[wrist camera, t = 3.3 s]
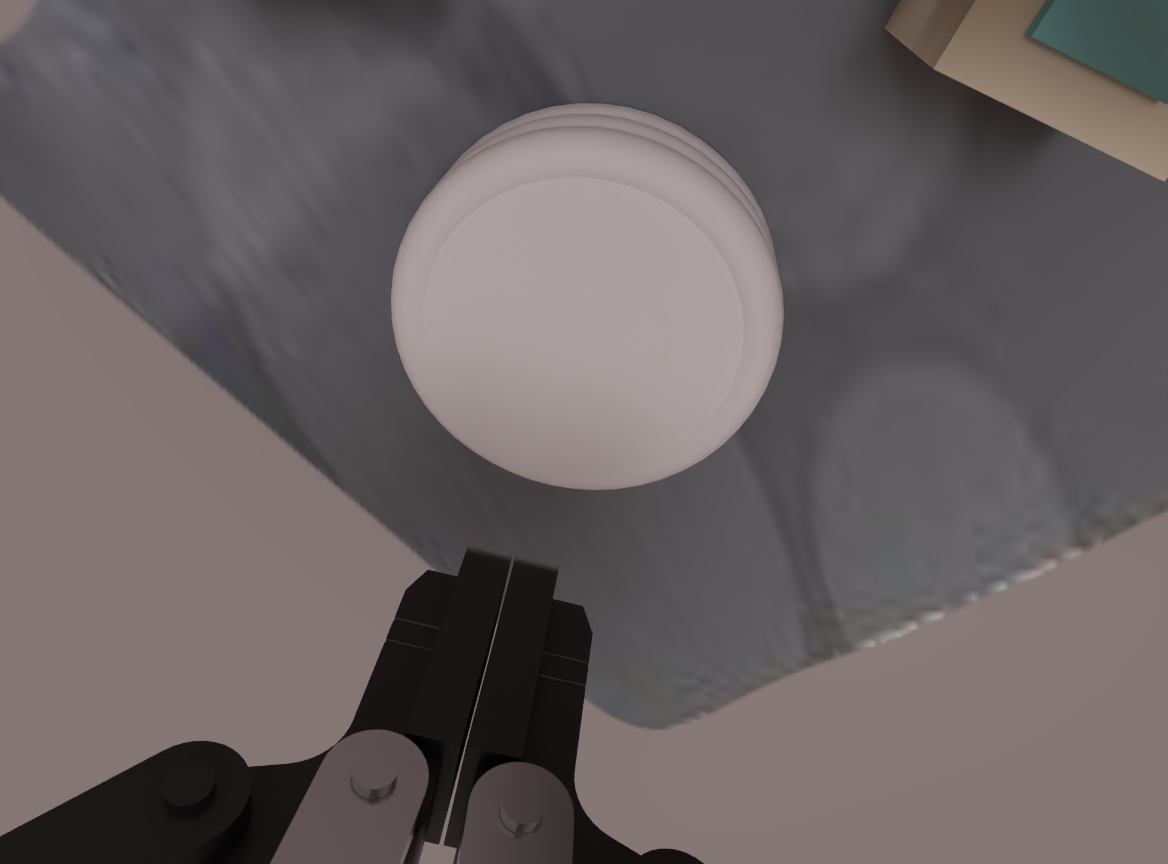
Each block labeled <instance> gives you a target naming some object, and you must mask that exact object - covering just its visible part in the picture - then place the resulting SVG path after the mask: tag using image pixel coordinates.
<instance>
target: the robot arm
mask: <svg viewBox="0 0 1168 864" xmlns="http://www.w3.org/2000/svg"><path fill="white" fill-rule="evenodd" d="M511 557H512V556H510V555H506V554H502V553H498V552H494V551H489V550H485V549H481V548H477V547H473V546H468V548H467V550H466V553H465V556H464V559H463V562H462V565H461V568H460V571H459V574H458V577H457V576H452V575H448V574H444V573H440V572H436V571H431V570H427V571H426V572H425V573H424V574H423V575H422V576H421V577H419V578H418V579H417V580H416V581H415V582H414V583H413V584H412V585H411V586H409V587H408V588H407V589H406V591H405V593H404V596H403V598H402V601H401V603H400V606H399V608H398V611H397V613H396V616H395V619H394V621H393V623H392V625H391V628H390V630H389V633H388V635H387V639H386V642H385V643H384V645H383V648H382V650H381V653H380V655H379V658H378V660H377V663H376V665H375V667H374V670H373V672H372V675H371V677H370V680H369V682H368V685H367V687H366V690H365V692H364V695H363V697H362V700H361V702H360V705H359V707H358V710H357V712H356V715H355V717H354V720H353V722H352V724H351V726H350V728H349V729H348V731H347V732H346V734H345V735H344V736H343V737H342V738H341V739H340V740H339V741H338V742H337V743H336V744H335V745H334V746H332V747H331V748H330V749H329V750H327V751H325V752H323V753H322V754H320V755H318V756H316V757H313V758H311V759H308V760H304V761H301V762H296V763H289V764H280V765H279V764H278V765H266V766H254V767H248V766H247V764H246V762H245V760H244V759H243V758H242V757H241V756H240V755H239V754H238V753H237V752H236V751H234V750H233V749H231V748H230V747H227V746H226V745H223V744H219V743H216V742H210V741H192V742H187V743H182V744H179V745H175V746H172V747H171V748H168V749H166V750H164V751H162V752H160V753H158V754H156V755H154V756H152V757H150V758H148V759H146V760H145V761H143V762H141V763H139V764H137V765H135V766H133V767H131V768H129V769H127V770H126V771H124V772H122V773H120V774H118V775H116V776H114V777H112V778H110V779H108V780H107V781H105V782H103V783H101V784H99V785H97V786H95V787H93V788H91V789H90V790H88V791H86V792H84V793H82V794H80V795H78V796H76V797H74V798H72V799H70V800H69V801H67V802H65V803H63V804H61V805H59V806H57V807H55V808H54V809H52V810H50V811H48V812H46V813H44V814H42V815H40V816H38V817H36V818H34V819H33V820H31V821H29V822H27V823H25V824H23V825H21V826H19V827H18V828H15V829H14V830H12V831H10V832H8V833H6V834H4V835H2V836H0V864H418V863H419V860H420V856H421V852H422V849H423V845H424V842H425V841H426V842H430V843H434V844H439V842H440V838H441V835H442V831H443V827H444V823H445V819H446V815H447V812H448V808H449V804H450V800H451V796H452V793H453V789H454V785H455V781H456V777H457V773H458V769H459V766H460V762H461V758H462V754H463V751H464V747H465V743H466V739H467V735H468V731H469V728H470V724H471V720H472V716H473V712H474V708H475V705H476V701H477V697H478V693H479V689H480V685H481V682H482V678H483V674H484V670H485V667H486V663H487V659H488V655H489V651H490V647H491V643H492V639H493V635H494V631H495V627H496V623H497V618H498V614H499V610H500V605H501V601H502V597H503V592H504V588H505V584H506V579H507V575H508V571H509V566H510V562H511ZM557 574H558V567H557V566H553V565H549V564H545V563H541V562H537V561H532V560H528V559H524V558H520V557H515V561H514V565H513V568H512V572H511V576H510V580H509V584H508V588H507V591H506V595H505V599H504V603H503V607H502V611H501V615H500V618H499V622H498V626H497V630H496V634H495V638H494V642H493V645H492V649H491V653H490V657H489V661H488V665H487V668H486V672H485V676H484V680H483V684H482V688H481V692H480V695H479V699H478V703H477V708H476V711H475V715H474V719H473V722H472V726H471V730H470V734H469V738H468V742H467V745H466V750H465V754H464V759H463V763H462V767H461V772H460V776H459V780H458V785H457V790H456V794H455V798H454V803H453V807H452V811H451V816H450V820H449V824H448V829H447V833H446V837H445V842H444V845H445V846H450V847H454V848H457V850H456V854H455V858H454V862H453V864H704V863H702V862H701V861H699V860H698V859H697V858H695V857H693V856H691V855H689V854H687V853H685V852H682V851H679V850H674V849H657V850H652V851H649V852H647V853H644V854H643V855H639V854H638V853H636V852H634V851H633V850H631V849H629V848H628V847H626V846H624V845H623V844H621V843H619V842H618V841H616V840H614V839H613V838H611V837H610V836H608V835H607V834H605V833H604V832H602V831H601V830H600V829H599V828H598V827H597V826H596V825H595V824H594V823H593V822H592V821H591V820H590V819H589V817H588V816H587V815H586V813H585V811H584V810H583V808H582V806H581V804H580V802H579V800H578V797H577V793H576V790H575V783H574V773H575V764H576V756H577V749H578V741H579V733H580V725H581V718H582V710H583V703H584V695H585V685H586V680H587V672H588V663H589V657H590V649H591V641H592V634H593V633H592V631H591V628H590V625H589V622H588V619H587V616H586V613H585V611H584V608H583V606H580V605H576V604H572V603H567V602H563V601H559V600H555V599H553V595H554V589H555V584H556V579H557Z"/></svg>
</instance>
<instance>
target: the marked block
mask: <svg viewBox="0 0 1168 864" xmlns="http://www.w3.org/2000/svg"><path fill="white" fill-rule="evenodd" d="M884 29H886V30H887V31H888V32H889V33H890V34H892V35H893V36H894V37H895V38H896V39H898V40H899V41H900V42H901V43H902V44H904V45H905V46H906V47H907V48H908V49H910V50H911V51H912V52H913V53H915V54H916V55H917V56H918V57H919V58H921V59H922V60H923V61H924V62H925V63H927V64H928V65H929V66H930V67H931V68H933V69H934V70H936V71H938V72H940V73H942V74H944V75H946V76H948V77H951V78H953V79H955V80H957V81H959V82H961V83H963V84H965V85H967V86H969V87H971V88H973V89H975V90H977V91H979V92H981V93H983V94H985V95H987V96H990V97H992V98H994V99H996V100H998V101H1000V102H1002V103H1004V104H1006V105H1008V106H1010V107H1012V108H1014V109H1016V110H1018V111H1020V112H1022V113H1024V114H1026V115H1028V116H1031V117H1033V118H1035V119H1037V120H1039V121H1041V122H1043V123H1045V124H1047V125H1049V126H1051V127H1053V128H1055V129H1057V130H1059V131H1061V132H1063V133H1065V134H1067V135H1070V136H1072V137H1074V138H1076V139H1078V140H1080V141H1082V142H1084V143H1086V144H1088V145H1090V146H1092V147H1094V148H1096V149H1098V150H1100V151H1102V152H1104V153H1106V154H1109V155H1111V156H1113V157H1115V158H1117V159H1119V160H1121V161H1123V162H1125V163H1127V164H1129V165H1131V166H1133V167H1135V168H1137V169H1139V170H1141V171H1143V172H1145V173H1148V174H1150V175H1152V176H1154V177H1156V178H1158V179H1160V180H1162V181H1165V180H1166V179H1167V178H1168V0H900V1H899V2H898V4H897V6H896V8H895V9H894V11H893V13H892V15H891V17H890V18H889V20H888V22H887V24H886V25H885V27H884Z"/></svg>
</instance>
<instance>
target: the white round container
mask: <svg viewBox="0 0 1168 864" xmlns="http://www.w3.org/2000/svg"><path fill="white" fill-rule="evenodd" d="M391 310H392V325H393V330H394V336H395V341H396V346H397V349H398V352H399V355H400V358H401V361H402V364H403V367H404V369H405V371H406V373H407V375H408V377H409V379H410V381H411V383H412V385H413V387H414V389H415V390H416V392H417V393H418V395H419V396H420V398H421V399H422V401H423V402H424V404H425V406H426V407H427V408H428V409H429V410H430V412H431V413H432V414H433V415H434V416H435V418H436V419H437V420H438V421H439V422H440V423H441V424H442V425H443V426H444V427H445V428H446V429H447V430H448V431H449V432H450V433H451V434H452V435H453V436H454V437H455V438H456V439H458V440H459V441H460V442H462V443H463V444H464V445H466V446H467V447H468V448H469V449H471V450H472V451H474V452H475V453H477V454H478V455H480V456H482V457H483V458H485V459H486V460H488V461H490V462H491V463H493V464H495V465H497V466H499V467H501V468H503V469H505V470H507V471H509V472H512V473H514V474H517V475H520V476H522V477H525V478H528V479H530V480H534V481H537V482H541V483H545V484H549V485H553V486H559V487H565V488H571V489H585V490H608V489H621V488H627V487H634V486H640V485H643V484H647V483H650V482H654V481H658V480H661V479H664V478H666V477H669V476H671V475H673V474H676V473H678V472H681V471H683V470H685V469H687V468H689V467H690V466H692V465H694V464H696V463H698V462H699V461H701V460H703V459H704V458H706V457H707V456H708V455H710V454H711V453H712V452H714V451H715V450H717V449H718V448H719V447H721V446H722V445H723V444H724V443H725V442H726V441H727V440H728V439H729V438H730V437H731V436H732V435H733V434H734V433H735V432H736V431H737V430H738V429H739V428H740V427H741V426H742V424H743V423H744V422H745V421H746V419H747V418H748V417H749V416H750V414H751V413H752V412H753V410H754V409H755V407H756V405H757V403H758V402H759V400H760V398H761V397H762V395H763V393H764V392H765V390H766V387H767V385H768V383H769V380H770V378H771V375H772V373H773V370H774V368H775V365H776V362H777V358H778V354H779V350H780V346H781V342H782V333H783V322H784V306H783V291H782V286H781V282H780V278H779V271H778V267H777V262H776V258H775V252H774V248H773V243H772V239H771V234H770V231H769V229H768V226H767V223H766V221H765V218H764V215H763V213H762V210H761V209H760V207H759V205H758V203H757V201H756V200H755V198H754V196H753V194H752V192H751V190H750V189H749V188H748V186H747V185H746V184H745V182H744V181H743V180H742V178H741V177H740V176H739V174H738V173H737V172H736V170H735V169H734V168H733V167H732V166H731V165H730V164H729V163H728V162H727V161H726V160H725V159H724V158H723V157H722V156H721V155H720V154H719V153H718V152H716V151H715V150H714V149H712V148H711V147H710V146H709V145H707V144H706V143H705V142H703V141H702V140H701V139H700V138H698V137H697V136H695V135H693V134H692V133H690V132H688V131H687V130H685V129H683V128H682V127H680V126H678V125H677V124H674V123H672V122H670V121H667V120H665V119H663V118H661V117H658V116H656V115H654V114H651V113H647V112H644V111H640V110H637V109H633V108H630V107H624V106H617V105H610V104H604V103H575V104H567V105H559V106H551V107H548V108H544V109H541V110H537V111H533V112H530V113H526V114H524V115H522V116H520V117H517V118H515V119H513V120H511V121H509V122H506V123H504V124H502V125H501V126H499V127H497V128H496V129H494V130H493V131H491V132H490V133H488V134H486V135H485V136H483V137H482V138H480V139H479V140H478V141H477V142H476V143H475V144H473V145H472V146H471V147H470V148H469V149H468V150H466V151H465V152H464V153H463V154H462V155H461V156H460V157H459V158H458V160H457V161H456V162H455V163H454V164H453V166H452V167H451V168H450V169H449V170H448V172H447V173H446V174H445V175H444V176H443V178H442V179H441V180H440V181H439V182H438V183H437V185H436V186H435V187H434V188H433V189H432V191H431V192H430V193H429V194H428V195H427V197H426V198H425V199H424V200H423V201H422V203H421V205H420V206H419V208H418V210H417V211H416V213H415V215H414V216H413V218H412V220H411V221H410V223H409V225H408V228H407V230H406V232H405V235H404V237H403V239H402V242H401V244H400V246H399V250H398V254H397V258H396V262H395V266H394V270H393V281H392V291H391Z"/></svg>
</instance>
